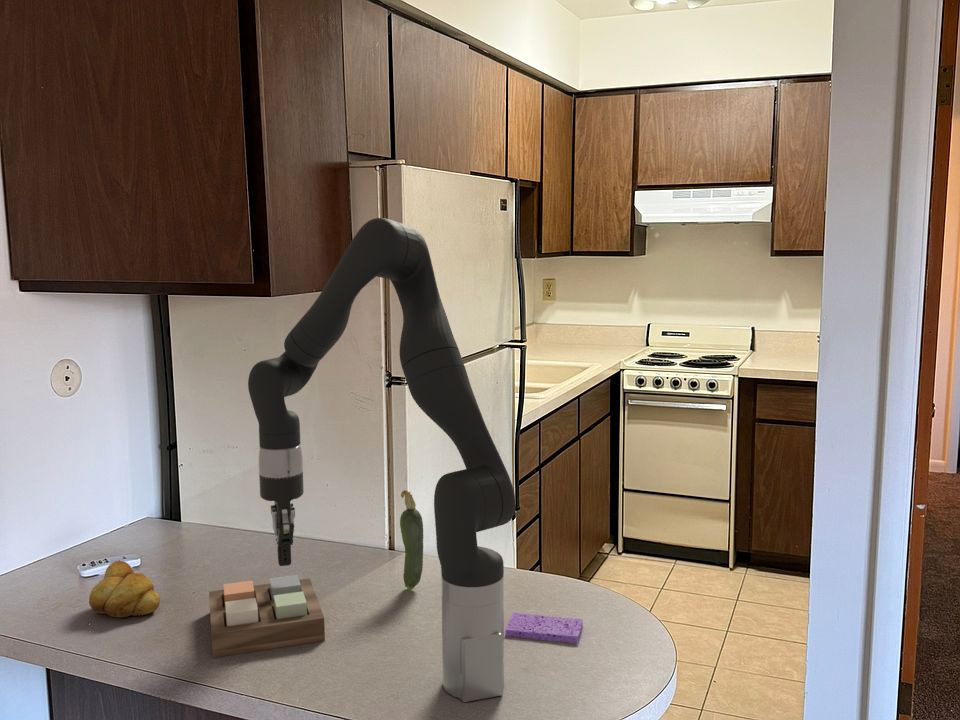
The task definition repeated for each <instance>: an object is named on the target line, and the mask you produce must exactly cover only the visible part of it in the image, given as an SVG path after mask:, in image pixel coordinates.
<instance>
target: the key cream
mask: <svg viewBox="0 0 960 720" xmlns="http://www.w3.org/2000/svg"><path fill="white" fill-rule="evenodd" d="M225 607H226V623H227V626H234V625H241V624H248V623H255V622H258V608H257V602H256V598H251V599H243V600H236V601H228V602H225Z"/></svg>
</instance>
